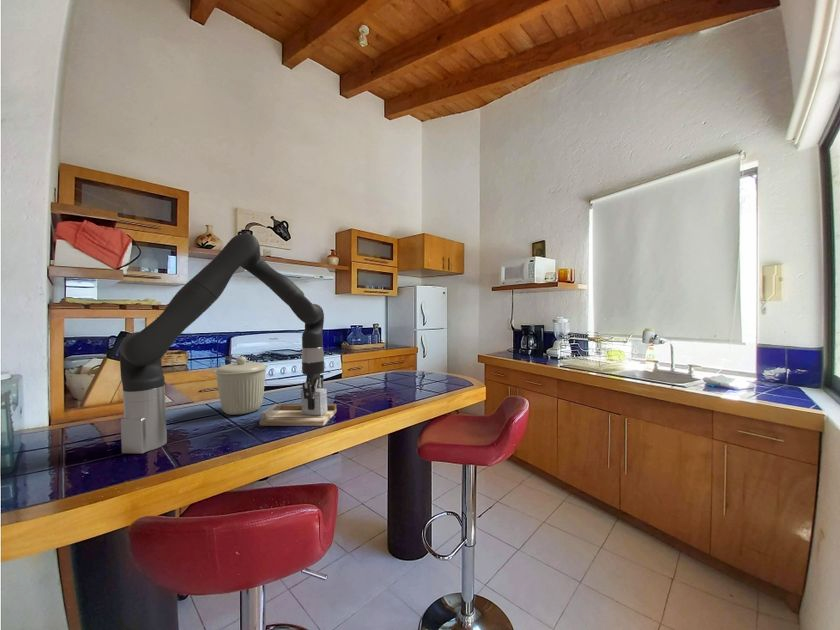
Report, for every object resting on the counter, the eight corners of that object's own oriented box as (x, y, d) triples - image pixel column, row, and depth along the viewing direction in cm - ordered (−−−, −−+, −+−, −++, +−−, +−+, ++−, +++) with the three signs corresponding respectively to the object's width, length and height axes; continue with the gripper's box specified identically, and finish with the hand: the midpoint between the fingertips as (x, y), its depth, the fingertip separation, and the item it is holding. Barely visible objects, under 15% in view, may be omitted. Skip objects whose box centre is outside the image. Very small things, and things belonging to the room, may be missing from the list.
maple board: (323, 425, 109) (323, 421, 109) (259, 425, 110) (259, 420, 110) (336, 412, 123) (336, 407, 123) (279, 411, 124) (279, 407, 124)
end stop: (266, 420, 111) (266, 412, 111) (260, 420, 111) (260, 412, 111) (280, 410, 121) (280, 403, 121) (275, 410, 121) (275, 403, 121)
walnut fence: (334, 410, 120) (334, 405, 120) (276, 410, 121) (275, 405, 121) (336, 408, 123) (336, 403, 123) (279, 407, 124) (279, 403, 124)
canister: (219, 422, 113) (217, 362, 112) (212, 410, 127) (210, 356, 126) (274, 411, 124) (272, 356, 124) (262, 401, 138) (260, 351, 138)
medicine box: (327, 412, 118) (327, 388, 118) (320, 416, 113) (320, 391, 113) (308, 410, 120) (308, 387, 120) (301, 414, 116) (300, 390, 115)
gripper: (310, 356, 124) (311, 401, 124) (293, 363, 109) (295, 413, 110) (330, 356, 123) (331, 401, 124) (315, 363, 109) (317, 413, 109)
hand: (314, 406), depth 117 cm, fingers closed on medicine box, 5 cm apart
